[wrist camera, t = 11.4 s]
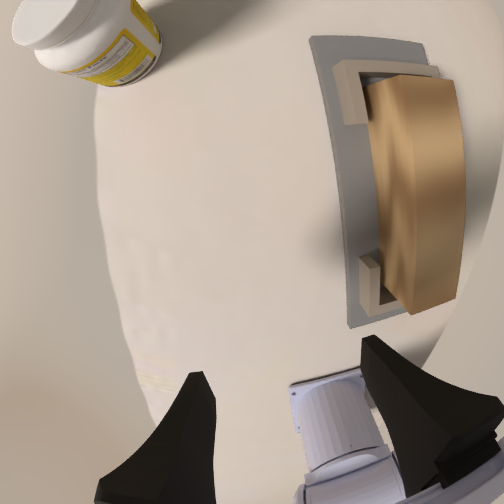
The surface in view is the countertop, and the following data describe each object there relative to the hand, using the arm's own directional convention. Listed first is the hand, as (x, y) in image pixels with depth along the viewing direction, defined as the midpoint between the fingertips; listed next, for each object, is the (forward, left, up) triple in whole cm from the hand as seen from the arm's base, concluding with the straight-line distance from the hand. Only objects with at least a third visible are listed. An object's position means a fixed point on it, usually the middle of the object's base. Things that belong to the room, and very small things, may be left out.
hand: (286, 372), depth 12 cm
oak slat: (+5, -11, -9) cm, 14 cm away
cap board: (+5, -11, -9) cm, 15 cm away
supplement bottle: (+18, +6, -10) cm, 21 cm away
